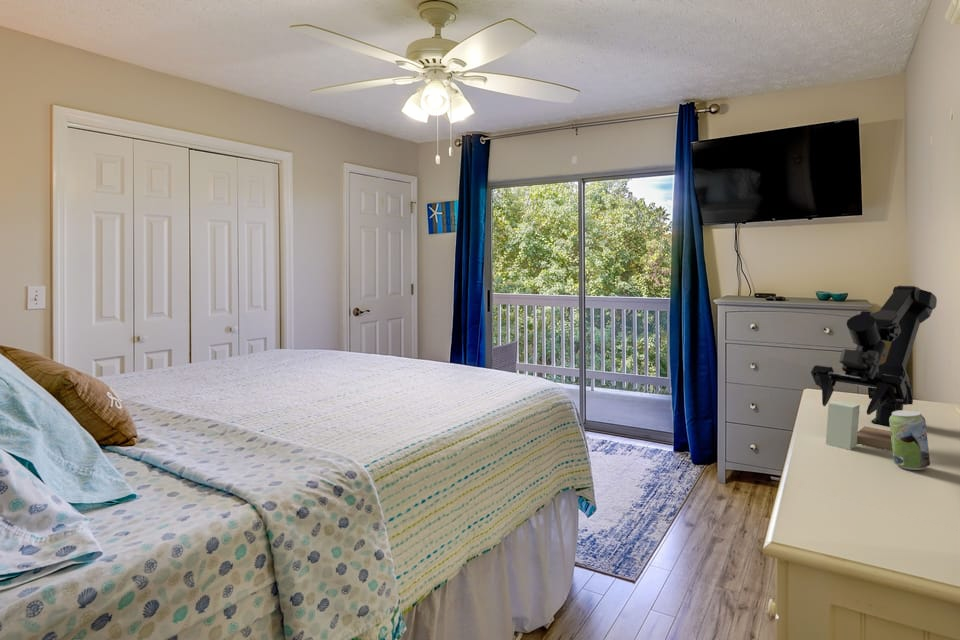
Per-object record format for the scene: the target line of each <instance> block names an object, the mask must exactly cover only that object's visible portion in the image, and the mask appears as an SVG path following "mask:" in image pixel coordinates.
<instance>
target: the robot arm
mask: <svg viewBox="0 0 960 640" xmlns="http://www.w3.org/2000/svg"><path fill="white" fill-rule="evenodd" d="M937 301H938V300H937V296H936V295H935V294H934V293H933V292H931V291H928V290H924V289H921V288H920V287H918V286H916V285H897V286H894V287H893V290H892V293H891V295H890V296H889V297H888V299H887V300H886V301H885V302H884V304H883V305H882V307H881V308H880V309H879V310H878V311H876V312H872V311H865V310H864V311H863V310H861V312H860V314H856V315H854V316H853V315H852V317H850V318H849V319H847V320H846V327H847V329H848V333H849V335H850V337H851V341H852V342H853V344H855V345H856V347H855V349H847V348H844V349H842V350H841V355H840V358H839V363H840V364H842V366H841V369H842V371H843V372H845V373H839V372H834V368H833V366H828V365H822V364H821V365H820V364H816V365H814V366H813V367H812V368H811V370H810V374H811V376H812V379H813V381H814V383H815V385H816V386H817V387H819V388H820V389H821V397H822V399H821V400H822V401H821V405H822V407H826V406H827V404H829V402H830V400H831V397H832V395H833V392H834V390H835V389H834V387H835V386H836V384H837V383H838V382H839V383H845V384H849V385H850V384H851V385H854V386H860V387H866V388H867V390H868V391H867V392H868V399H869V400H870V402H869V404H868V406H867V409H866V414H867V415H871V414H873V413H874V412H875V417H874V418H873V419H872V420H870V422H871V423H873V424H878V425H883V426H887V427H888V426H889V427H890V423H889V418H890V416H891V415H892V412H893V411H897V410H904V405H906V406H907V405H913V404H914V392H913V390H912V389H913V388H912V386H911V383H910V378H909V375H908V373H907V372H906V369H907V366H908V363H909V359H910V355H911V354H912V353H911V352H912V351H913V350H912V349H913V347H914V344H915V343H914V342H915V340H916V336H917V334H918V330H919V328H920V325H921V323H923V322H925V321H926V320H927V319H929V318H930V317H931V314H932V312H933V311H934V310H935V309H936V307H937ZM885 342H890V346H889V349H888V352H887V354H886V349H887V345H886V343H885ZM885 356H886V358H885V360H884V362H883V363H881V361H882V360H883V358H884V357H885ZM836 382H837V383H836Z"/></svg>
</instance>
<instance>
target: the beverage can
mask: <svg viewBox="0 0 960 640" xmlns="http://www.w3.org/2000/svg"><path fill="white" fill-rule="evenodd" d="M889 423H890V426H889V431H890V432H891V441H892V450H893V451H892V457H893V463H894V464H895V465H896V466H899V468H901V469H905V470H911V471H913V470H914V471H919V470H924V469H926V468H927V467H929V466H930V465H931V460H930V451H929V442H928V433H927V432H928V431H927V424H926V423H927V422H926V419H925V417H924V416H923V415H922V412H921V411H918V410H913V409H903V410H897V411H893V412H892V415H891V416H890V418H889Z"/></svg>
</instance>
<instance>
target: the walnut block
mask: <svg viewBox="0 0 960 640" xmlns="http://www.w3.org/2000/svg"><path fill="white" fill-rule="evenodd" d="M859 444H862V445H861V446H864V445H865V446H864V447H869V446H871V447H870V448H874V447H875V448H876V449H879V448H881V449H880V450H884V449H886V450H885V451H889V450H891V451H890V452H893V450H892V441H891V432H890V430H886V429H880V428H876V427H869V426H865V425H864V426H862V428H860V429H858V433H857V445H859Z"/></svg>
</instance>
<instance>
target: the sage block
mask: <svg viewBox="0 0 960 640" xmlns="http://www.w3.org/2000/svg"><path fill="white" fill-rule="evenodd" d="M859 416H860V404H856V403H851V402H847V401H841V400H833V401H829V402H828V409H827V424H826V435H825V437H826V438H825V445H827V444H828V445H827V446H831V445H832V447H836V448H839V449H845V450H847V451H851V450H853V449H855V448H857V447H856V446H857V445H858V444H857V433H858V431H859V419H860V417H859ZM854 447H855V448H854ZM852 448H853V449H852Z"/></svg>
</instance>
